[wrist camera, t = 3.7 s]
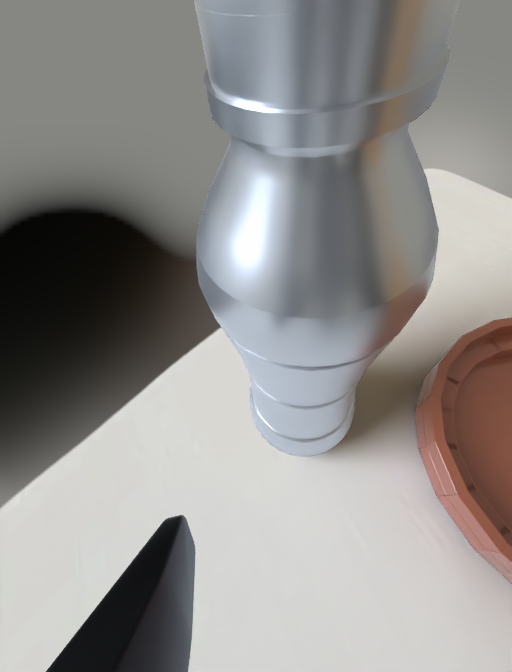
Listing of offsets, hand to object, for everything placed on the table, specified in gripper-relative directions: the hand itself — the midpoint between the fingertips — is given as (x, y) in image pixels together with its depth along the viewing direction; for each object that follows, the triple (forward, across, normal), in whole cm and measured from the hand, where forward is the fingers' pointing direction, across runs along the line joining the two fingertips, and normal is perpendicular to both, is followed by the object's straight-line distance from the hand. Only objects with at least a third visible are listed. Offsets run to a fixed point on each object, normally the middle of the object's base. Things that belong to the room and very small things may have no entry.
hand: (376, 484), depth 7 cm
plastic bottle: (+13, 0, +5) cm, 14 cm away
